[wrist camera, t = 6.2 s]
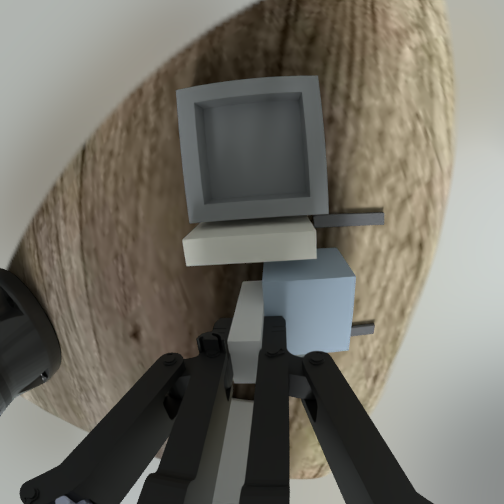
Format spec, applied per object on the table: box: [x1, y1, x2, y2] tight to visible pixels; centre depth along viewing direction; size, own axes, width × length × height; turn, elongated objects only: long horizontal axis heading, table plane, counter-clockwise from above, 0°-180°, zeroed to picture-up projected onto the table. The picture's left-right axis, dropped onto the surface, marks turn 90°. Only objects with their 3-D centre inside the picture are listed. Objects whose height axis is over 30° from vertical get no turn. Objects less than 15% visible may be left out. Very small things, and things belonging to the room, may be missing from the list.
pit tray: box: [176, 76, 329, 223], centre depth 16 cm, size 8×8×3 cm
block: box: [262, 248, 356, 355], centre depth 18 cm, size 5×5×5 cm
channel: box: [182, 215, 317, 380], centre depth 18 cm, size 7×10×4 cm
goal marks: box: [313, 212, 384, 336], centre depth 19 cm, size 5×10×1 cm, turn 5°
